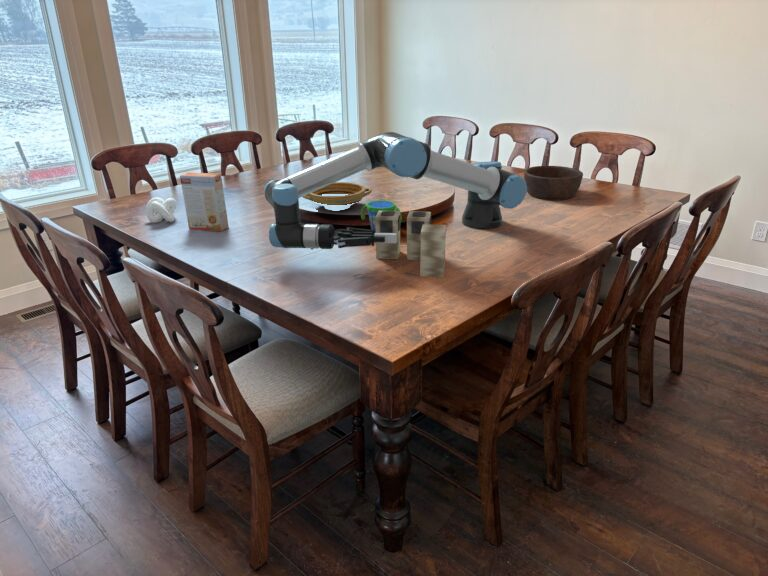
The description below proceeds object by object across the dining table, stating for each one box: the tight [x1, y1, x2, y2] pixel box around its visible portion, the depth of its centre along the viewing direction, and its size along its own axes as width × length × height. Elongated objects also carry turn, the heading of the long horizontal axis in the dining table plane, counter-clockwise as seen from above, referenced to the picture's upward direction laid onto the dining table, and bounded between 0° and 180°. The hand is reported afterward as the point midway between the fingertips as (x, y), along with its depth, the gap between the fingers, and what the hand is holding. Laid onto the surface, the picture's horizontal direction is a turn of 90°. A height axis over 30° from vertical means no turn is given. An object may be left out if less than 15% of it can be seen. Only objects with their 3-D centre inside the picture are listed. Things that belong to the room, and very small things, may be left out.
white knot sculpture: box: [145, 197, 178, 224], centre depth 219 cm, size 11×12×9 cm
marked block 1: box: [406, 210, 432, 261], centre depth 178 cm, size 7×7×14 cm
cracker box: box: [179, 172, 229, 232], centre depth 207 cm, size 14×6×21 cm, turn 74°
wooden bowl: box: [523, 165, 584, 201], centre depth 245 cm, size 25×25×10 cm
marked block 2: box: [375, 210, 401, 260], centre depth 180 cm, size 7×7×14 cm
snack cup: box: [360, 199, 403, 233], centre depth 203 cm, size 16×10×10 cm
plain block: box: [419, 224, 447, 278], centre depth 166 cm, size 7×7×14 cm
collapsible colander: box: [301, 181, 372, 205], centre depth 232 cm, size 30×24×8 cm
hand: (396, 238), depth 166 cm, fingers closed
